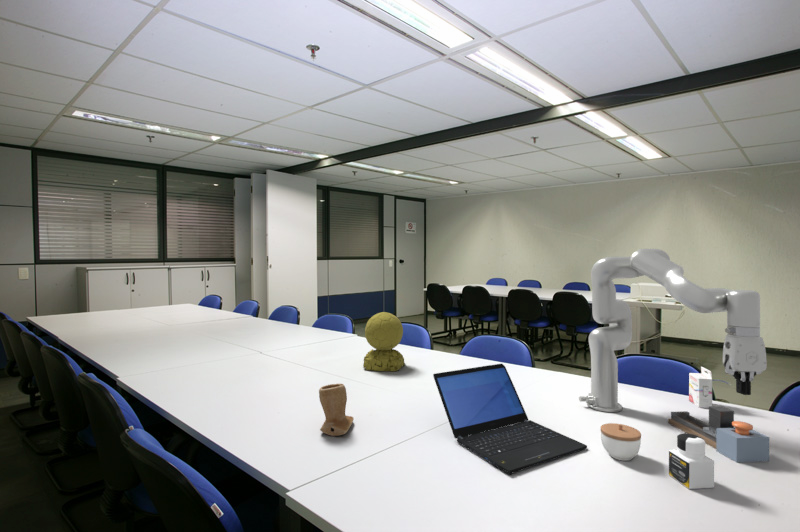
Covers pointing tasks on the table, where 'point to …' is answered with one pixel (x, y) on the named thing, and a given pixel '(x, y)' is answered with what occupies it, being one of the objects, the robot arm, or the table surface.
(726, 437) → the button housing
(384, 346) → the trophy
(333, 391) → the tan hollow upright piece
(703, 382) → the ink cartridge box
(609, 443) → the lidded jar
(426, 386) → the table surface
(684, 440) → the medicine bottle
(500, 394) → the laptop
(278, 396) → the table surface
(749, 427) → the button
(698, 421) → the slide rail track
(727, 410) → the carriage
